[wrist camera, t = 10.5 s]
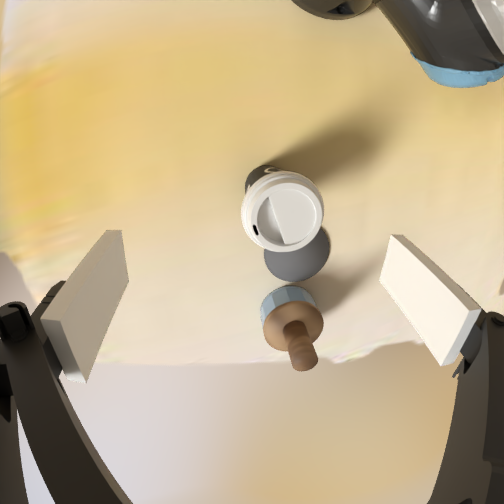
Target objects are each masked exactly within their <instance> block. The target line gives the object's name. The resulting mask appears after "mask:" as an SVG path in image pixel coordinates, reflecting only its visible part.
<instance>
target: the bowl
mask: <svg viewBox="0 0 504 504" xmlns="http://www.w3.org/2000/svg"><path fill="white" fill-rule="evenodd" d="M290 301H306V302H309V303H311V304H313V305H314V306H316V304H315V302H314V300H313V298H312V296H311V295H310V294H309V292H308V291H306V290H305V289H303V288H301V287H298V286H284V287H281V288H278V289H276V290H274V291H273V292H271V293H270V294H269V295H268V296H267V297H266V298H265V299H264V301H263V303H262V306H261V321H262V326H263V325H264V321H265V319H266V317H267V316H268V314H269V313H270V312H271V311H272V310H273V309H275V308H276V307H278V306H279V305H281V304H284V303H286V302H290ZM316 307H317V306H316Z"/></svg>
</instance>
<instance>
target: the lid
mask: <svg viewBox="0 0 504 504" xmlns="http://www.w3.org/2000/svg"><path fill="white" fill-rule="evenodd" d="M323 324H324V322H323V318H322V315H321V313H320V311H319V310H318V308H317V307H316V306H314V305H313V304H311V303H309V302H306V301H290V302H286V303H284V304H281V305H279V306H278V307H276V308H275V309H273V310H272V311H271V312H270V313H269V314H268V316H267V317H266V319H265V321H264V325H263V332H264V336H265V339H266V341H267V343H268V344H269V345H270V346H271V347H273V348H275V349H277V350H280V351H288V352H289V355H290V359H291V362H292V366H293V368H294V369H295V370H297V371H307V370H309V369H312V368H313V367H314V366H315V365H316V364H317V362H318V357H317V354H316V352H315V349H314V346H313V344H312V343H313V342H314V341H315V340H316V339H317V338H318V337H319V336H320V334H321V332H322V330H323Z"/></svg>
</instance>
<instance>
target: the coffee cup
mask: <svg viewBox="0 0 504 504" xmlns="http://www.w3.org/2000/svg"><path fill="white" fill-rule="evenodd" d="M323 216H324V204H323V199H322V196H321V194H320V192H319V190H318V188H317V187H316V185H315V184H314V183H313V182H312V181H311V180H310V179H308V178H307V177H305V176H303V175H301V174H299V173H296V172H291V171H283V170H280V169H278V168H276V167H273V166H260V167H258V168H256V169H254V170H253V171H252V172H251V173H250V174H249V176H248V177H247V180H246V184H245V197H244V200H243V203H242V207H241V219H242V224H243V227H244V229H245V231H246V233H247V234H248V236H249V237H250V238H251V239H252V240H253V241H254V242H255V243H256V244H258V245H259V246H261V247H263V248H265V249H267V250H270V251H275V252H290V251H294V250H297V249H300V248H302V247H304V246H305V245H307V244H308V243H309V242H310V241H311V240H312V239H313V238H314V237H315V236H316V234H317V233H318V231H319V229H320V227H321V224H322V221H323Z"/></svg>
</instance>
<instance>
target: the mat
mask: <svg viewBox="0 0 504 504" xmlns="http://www.w3.org/2000/svg"><path fill="white" fill-rule="evenodd" d="M328 254H329V242H328V239H327V236H326V235H325V233H324V232H323V231H322V229H321V228H320V229H319V231H318V233H317V234H316V236H315V237H314V238H313V239H312V240H311V241H310V242H309V243H308V244H307V245H305V246H304V247H302V248H300V249H297V250H294V251H290V252H275V251H270V250H267V249H265V250H264V258H265V262H266V265H267V267H268V269H269V270H270V272H271V273H272V274H273V275H274V276H276V277H277V278H279V279H281V280H284V281H289V282H297V281H302V280H306V279H308V278H310V277H312V276H313V275H315V274H316V273H317V272H319V271H320V269H321V268H322V267H323V266H324V264H325V262H326V260H327V258H328Z"/></svg>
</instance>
